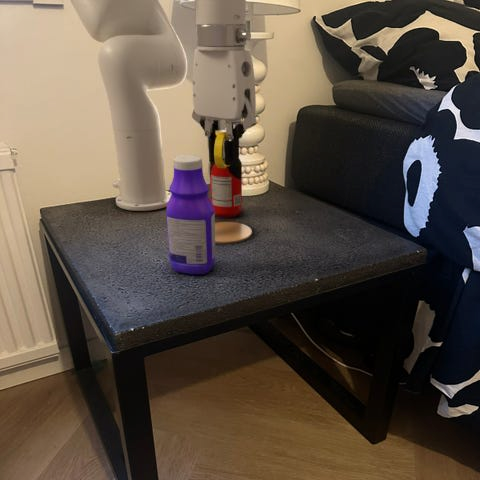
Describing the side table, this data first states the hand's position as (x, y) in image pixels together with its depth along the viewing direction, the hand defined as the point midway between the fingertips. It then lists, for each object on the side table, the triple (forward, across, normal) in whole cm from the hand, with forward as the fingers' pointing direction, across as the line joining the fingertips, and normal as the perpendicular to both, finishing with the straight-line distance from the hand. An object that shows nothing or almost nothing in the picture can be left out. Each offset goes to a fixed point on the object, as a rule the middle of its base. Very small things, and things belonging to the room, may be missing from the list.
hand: (224, 161), depth 82 cm
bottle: (+13, -5, +15) cm, 21 cm away
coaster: (+13, 0, 0) cm, 13 cm away
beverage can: (+13, +7, -8) cm, 17 cm away
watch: (+1, 0, 0) cm, 1 cm away
